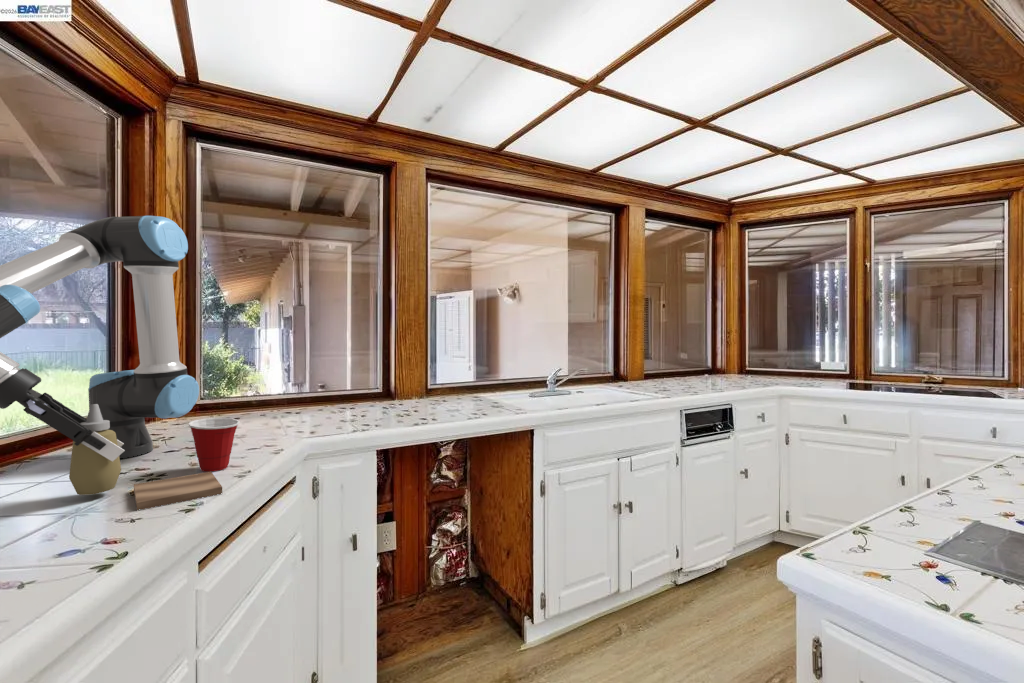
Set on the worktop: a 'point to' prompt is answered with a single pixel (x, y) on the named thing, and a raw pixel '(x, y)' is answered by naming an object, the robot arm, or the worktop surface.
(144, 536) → the worktop surface
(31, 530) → the worktop surface
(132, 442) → the robot arm
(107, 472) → the squeeze bottle
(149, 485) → the walnut board
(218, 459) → the plastic cup
